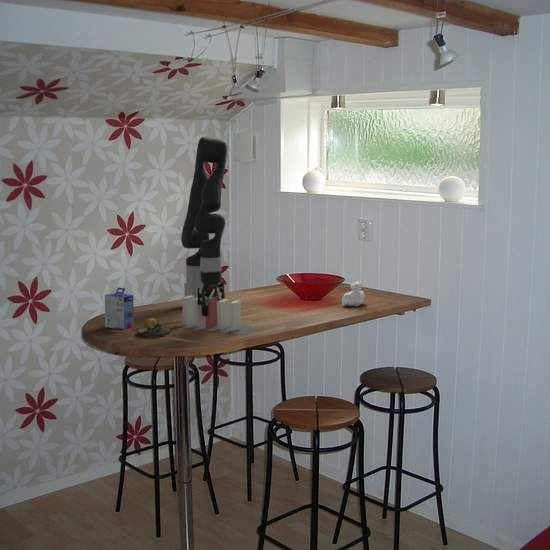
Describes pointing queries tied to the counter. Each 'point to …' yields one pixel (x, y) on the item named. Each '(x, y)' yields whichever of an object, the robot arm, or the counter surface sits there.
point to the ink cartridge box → (119, 310)
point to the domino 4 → (234, 315)
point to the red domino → (212, 313)
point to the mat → (242, 330)
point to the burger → (152, 329)
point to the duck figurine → (354, 295)
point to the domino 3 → (223, 314)
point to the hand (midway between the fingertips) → (211, 313)
